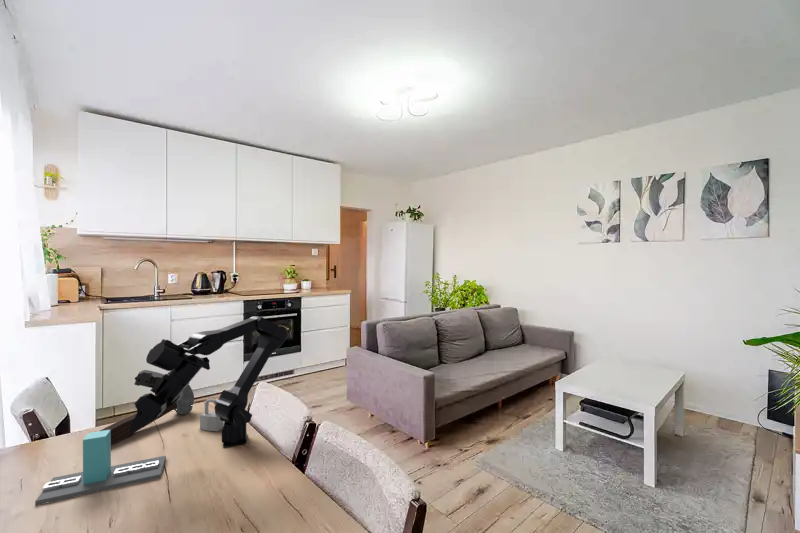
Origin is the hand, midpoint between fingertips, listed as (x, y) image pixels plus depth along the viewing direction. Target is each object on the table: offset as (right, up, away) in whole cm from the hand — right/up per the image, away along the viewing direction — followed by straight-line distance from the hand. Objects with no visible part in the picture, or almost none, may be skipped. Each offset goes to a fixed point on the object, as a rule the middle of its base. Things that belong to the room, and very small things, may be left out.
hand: (137, 425), depth 96 cm
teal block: (-7, -11, -4) cm, 14 cm away
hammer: (-15, -12, +26) cm, 32 cm away
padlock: (+6, -12, +25) cm, 29 cm away
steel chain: (-6, -11, -4) cm, 13 cm away
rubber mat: (-5, -12, -3) cm, 14 cm away
